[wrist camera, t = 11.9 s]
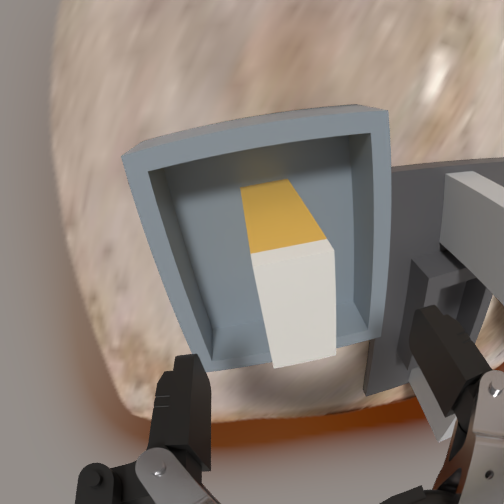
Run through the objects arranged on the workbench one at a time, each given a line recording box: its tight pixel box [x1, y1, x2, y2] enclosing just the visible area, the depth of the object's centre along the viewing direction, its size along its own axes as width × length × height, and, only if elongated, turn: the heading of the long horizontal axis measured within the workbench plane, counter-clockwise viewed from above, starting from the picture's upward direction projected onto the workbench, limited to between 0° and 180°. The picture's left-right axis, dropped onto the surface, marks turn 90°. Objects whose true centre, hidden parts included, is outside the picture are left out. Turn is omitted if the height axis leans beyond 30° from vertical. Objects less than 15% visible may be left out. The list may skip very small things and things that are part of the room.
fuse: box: [240, 179, 336, 369], centre depth 14 cm, size 3×5×8 cm, turn 10°
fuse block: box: [363, 157, 504, 442], centre depth 19 cm, size 12×22×9 cm, turn 10°
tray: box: [121, 104, 391, 372], centre depth 17 cm, size 12×14×4 cm
